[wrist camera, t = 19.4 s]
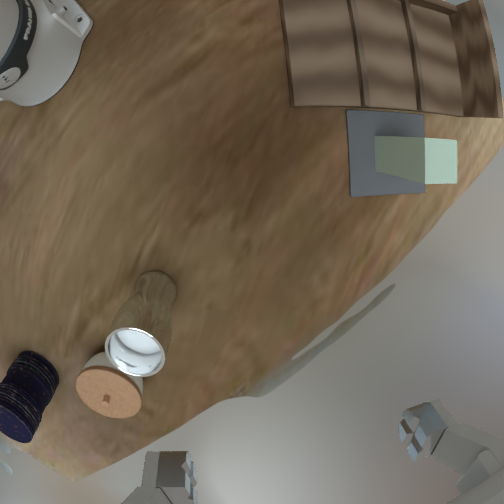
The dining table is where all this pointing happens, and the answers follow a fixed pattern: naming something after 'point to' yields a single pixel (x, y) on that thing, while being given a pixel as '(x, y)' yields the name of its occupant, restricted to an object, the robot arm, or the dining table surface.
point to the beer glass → (143, 327)
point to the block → (417, 158)
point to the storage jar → (26, 395)
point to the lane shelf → (392, 56)
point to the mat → (363, 151)
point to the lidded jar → (109, 388)
